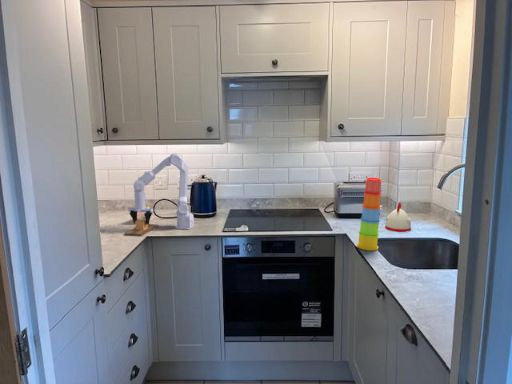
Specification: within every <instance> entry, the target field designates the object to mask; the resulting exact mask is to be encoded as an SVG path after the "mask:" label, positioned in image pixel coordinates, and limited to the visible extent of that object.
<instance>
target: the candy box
mask: <svg viewBox="0 0 512 384" xmlns="http://www.w3.org/2000/svg"><path fill="white" fill-rule="evenodd" d="M146 208H151V207H150V206H146ZM144 213H146V212H137V220H139V219H146V218H145V215H144ZM131 220H132V225H133V226H135V224H134V221H133V219H132V218H131Z"/></svg>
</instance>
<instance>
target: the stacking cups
mask: <svg viewBox="0 0 512 384" xmlns="http://www.w3.org/2000/svg"><path fill="white" fill-rule="evenodd" d="M381 191H382V180H381V178H379V177H367V178H366V179H365V188H364V192H363V195H364V196H363V204H361V206H362V213H361V217H360V229H359V231H358V232H357V233H358V242H357V244H356V247H357V248H358V249H360V250H363V251H369V252H370V251H373V252H374V251H377V250H378V249H379V246H378V237H379V236H380V233H379V225H380V222H381V220H380V213H381V211H380V210H381V209H382V207H381V195H382V192H381Z"/></svg>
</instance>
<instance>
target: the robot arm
mask: <svg viewBox="0 0 512 384" xmlns="http://www.w3.org/2000/svg"><path fill="white" fill-rule="evenodd" d="M172 165H173V166H174V167H176V168H177V169H178V170H179V183H178V184H179V185H178V187H179V190H178V200H177V203H176V208H177V211H176V226H175V227H174V229H175V230H176V229H177V230H191V229H192V228H193V227H195V224H194V223H195V220H194V219H195V218H194V213H191V212H190V211H189V206H188V182H189V181H188V178H189V166H188V165H187V163H186V162H185V160H184V159H183V157H182V156H181V155H179V154H178V153H175V152H174V153H171V154H170V156H167V157H165V158H164V159H163V160H162V161H161V162H160V163H159V164H158V165H156V166H155V167H154V168H153V169H152V170H147V171H144V172H143V174H142V175H141V176H140V177H138V178H137V180H135V181H134V183H133V191H134V193H133V194H134V195H133V197H134V205H135V206H134V207H129V208H128V212H129V213H128V214H129V215H130V217H131V220H132V219H133V221H134V224H135V221H137V212H146V213H144V215H145V218H146V225H148V224H150V221H151V218H152V215H153V213H154V208H151V207H150V208H146V207H147V206H146V192H145V187H146V186H148V185H149V184H151V182H152V181H154V180H155V179H156V175H157V174H158V173H160V172H161V171H162V170H163V169H165V168H166V167H170V166H172Z"/></svg>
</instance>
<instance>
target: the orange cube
mask: <svg viewBox="0 0 512 384" xmlns="http://www.w3.org/2000/svg"><path fill="white" fill-rule="evenodd" d="M134 226H135V228H136V230H145V229H147V228H148V225H146V219H139V220H137V221H135V225H134Z"/></svg>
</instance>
